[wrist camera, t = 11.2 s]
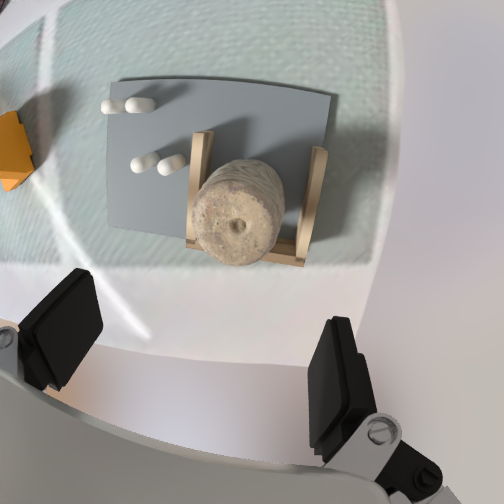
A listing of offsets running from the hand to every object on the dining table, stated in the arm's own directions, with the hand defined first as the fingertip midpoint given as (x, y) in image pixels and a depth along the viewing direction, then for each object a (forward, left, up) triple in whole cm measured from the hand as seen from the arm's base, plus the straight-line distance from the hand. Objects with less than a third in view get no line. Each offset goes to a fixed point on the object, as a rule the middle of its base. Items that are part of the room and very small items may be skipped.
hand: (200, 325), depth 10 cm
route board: (-2, -6, -22) cm, 23 cm away
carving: (0, 0, -21) cm, 21 cm away
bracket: (-3, -38, -23) cm, 44 cm away
